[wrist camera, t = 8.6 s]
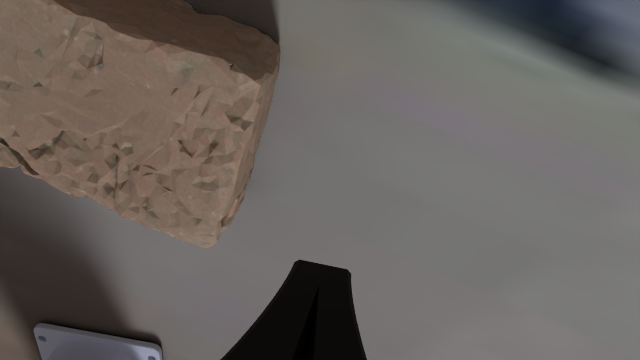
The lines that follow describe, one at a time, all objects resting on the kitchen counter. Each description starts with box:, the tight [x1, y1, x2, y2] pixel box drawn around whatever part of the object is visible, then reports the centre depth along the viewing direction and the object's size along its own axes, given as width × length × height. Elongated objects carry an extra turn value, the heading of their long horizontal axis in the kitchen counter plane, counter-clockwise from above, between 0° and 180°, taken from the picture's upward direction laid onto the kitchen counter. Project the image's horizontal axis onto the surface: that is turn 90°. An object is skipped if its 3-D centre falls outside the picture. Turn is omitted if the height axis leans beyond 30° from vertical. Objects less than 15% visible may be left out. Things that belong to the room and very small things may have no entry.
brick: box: [0, 0, 280, 248], centre depth 21 cm, size 17×8×5 cm, turn 72°
